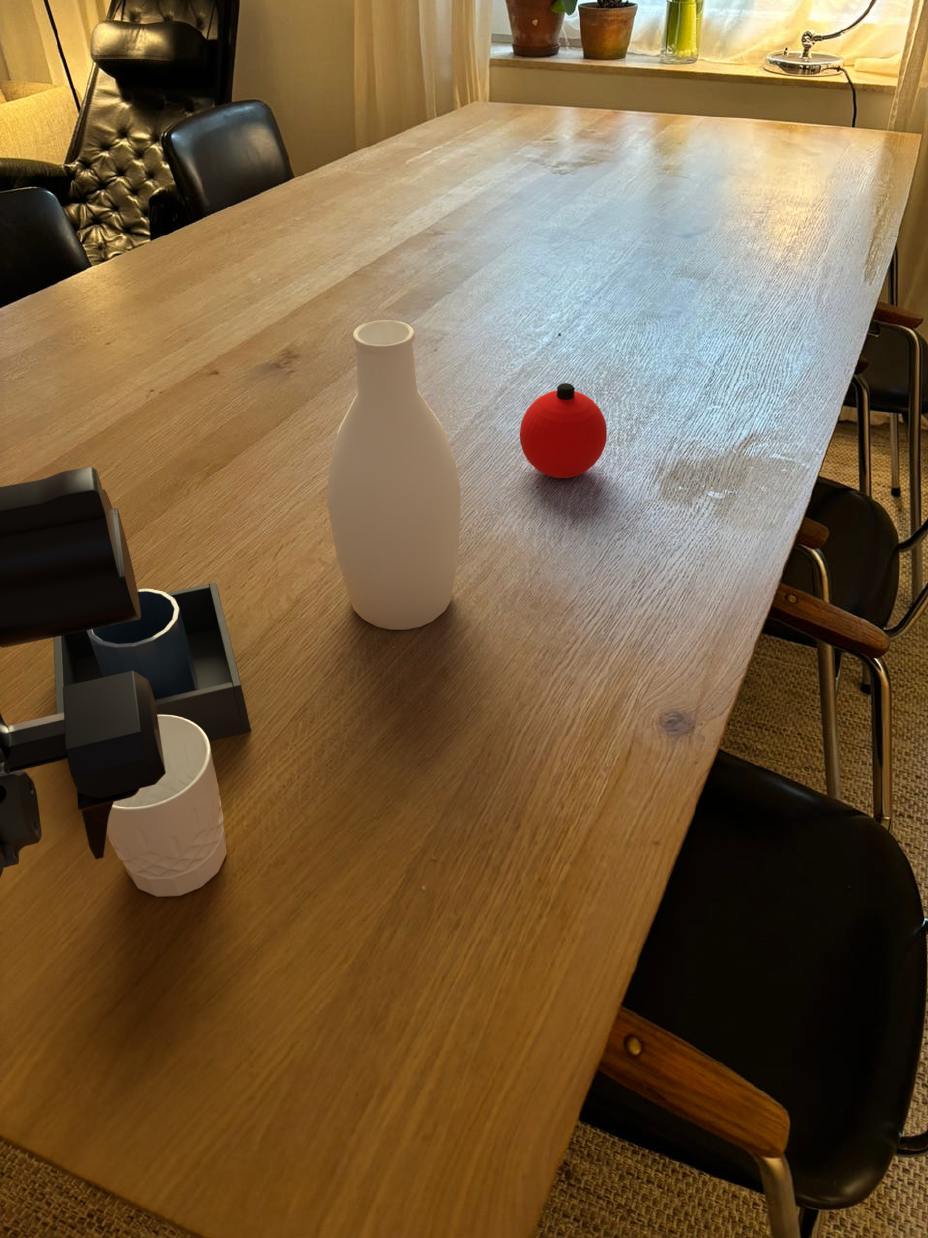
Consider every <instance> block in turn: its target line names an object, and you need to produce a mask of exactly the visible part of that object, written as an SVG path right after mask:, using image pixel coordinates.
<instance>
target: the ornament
mask: <svg viewBox="0 0 928 1238" xmlns="http://www.w3.org/2000/svg"><path fill="white" fill-rule="evenodd" d="M575 389H576V388H575V386H574V385H573V384H572V383H568V382H563V383H560V384H559V385H558V386H557V387H556V390H552V391H549V392H546V393H544V394H542V395H540V396H539V397H538V398H536V399H535V400H534V401H533V402H532V403H531V404H530V405H529V407H527V409H526V411H525V413H524V415H523V417H522V419H521V422H520V426H519V427H520V429H519V443H520V447H521V449H522V453H523V455H524V457H525V458H526V460H527V461H528V463H529V464H530V465H531V466H532V467H533V468H534V469H536V471H538V472H540V473H541V474H543V475H545V476H548V477H551V478H556V479H569V478H574V477H577V476H579V475H582V474H584V473H586V472H587V471H589V470H590V469H591V468H592V467H593V466H595V464H596V463H597V462H598V460H599V459H600V458H601V457H602V454H603V452H604V450H605V447H606V444H607V440H608V432H607V431H608V429H607V428H608V427H607V422H606V419H605V416H604V414H603V412H602V410H601V408H600V407H599V406H598V405H597V404H596V402H595V401H594V400H593V399H592V398H591V397H588V396H587V395H585V394H583V393H582V392H579V391H576V390H575Z"/></svg>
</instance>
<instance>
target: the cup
mask: <svg viewBox="0 0 928 1238" xmlns="http://www.w3.org/2000/svg"><path fill="white" fill-rule="evenodd" d="M137 591H138V597H139V603H140V612H141V618H140V619H139V620H134V621H129V622H125V623H120V624H115V625H110V626H106V627H101V628H96V629H91V630H87V633H88V636H89V639H90V642H91V645H92V648H93V651H94V653H95V656H96V659H97V662H98V665H99V668H100V671H101V674H102V677H108V676H112V675H117V674H121V673H125V672H130V671H134V672H136V673H138V674H139V675H141V676H143V677H144V678H146V679H148V680H149V683H150V686H151V689H152V693H153V696H154V699H155V700H157V699H162V698H166V697H170V696H174V695H179V694H183V693H187V692H192V691H196V690H198V681H197V680H198V679H197V674H196V670H195V667H194V663H193V659H192V655H191V651H190V647H189V643H188V639H187V636H186V632H185V628H184V624H183V620H182V616H181V612H180V609H179V606H178V604H177V602H176V600H175V599H174V598H173V597H171V596H170V595H168V594H167V593H166V592H165V591H164V590H158V589H153V588H137Z"/></svg>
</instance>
